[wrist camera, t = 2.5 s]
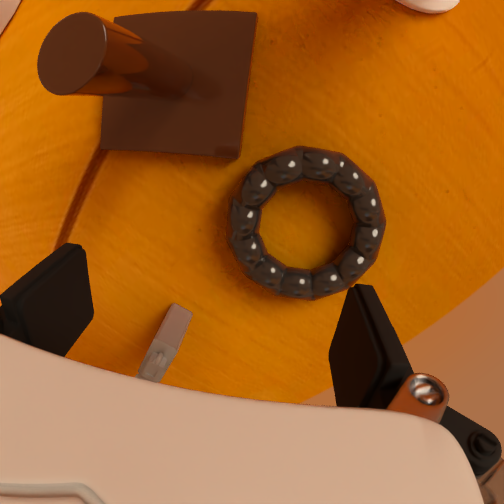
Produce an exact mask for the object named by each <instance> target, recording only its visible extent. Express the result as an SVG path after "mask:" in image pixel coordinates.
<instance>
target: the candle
mask: <svg viewBox="0 0 504 504" xmlns="http://www.w3.org/2000/svg"><path fill="white" fill-rule="evenodd" d="M396 1H398V2H399V3H401V4H403V5H405V6H407V7H409V8H411V9H414V10H417V11H420V12H425V13H442V12H446V11H448V10H450V9H452V8H454V7H455V6H456V5H457V4H458V3H459V1H460V0H396Z"/></svg>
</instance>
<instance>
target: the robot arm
mask: <svg viewBox="0 0 504 504" xmlns="http://www.w3.org/2000/svg"><path fill="white" fill-rule="evenodd" d="M0 299H1V303H2V306H1V307H0V504H504V460H503V459H502V458H501V452H502V450H501V444H500V442H499V440H498V439H497V437H496V436H495V435H494V434H493V433H492V432H490V431H489V430H487V429H486V428H484V427H482V426H480V425H479V424H477V423H475V422H474V421H472V420H470V419H468V418H467V417H465V416H463V415H462V414H460V413H458V412H457V411H455V410H453V409H452V408H450V407H448V406H447V404H448V401H449V393H448V390H447V388H446V386H445V385H444V384H443V383H442V382H441V381H440V380H439V379H437V378H436V377H434V376H432V375H429V374H425V373H415V374H414V372H413V370H412V367H411V365H410V363H409V361H408V358H407V356H406V354H405V352H404V349H403V347H402V345H401V343H400V341H399V338H398V336H397V334H396V332H395V330H394V328H393V326H392V324H391V322H390V320H389V318H388V316H387V314H386V312H385V310H384V308H383V306H382V304H381V302H380V300H379V298H378V296H377V294H376V292H375V290H374V288H373V286H372V285H364V284H355V286H354V287H350V288H349V289H348V292H347V295H346V299H345V302H344V305H343V308H342V312H341V315H340V318H339V321H338V324H337V328H336V331H335V334H334V337H333V340H332V343H331V346H330V349H329V363H330V368H331V374H332V380H333V386H334V391H335V397H336V404H337V406H325V405H308V404H295V403H283V402H273V401H264V400H255V399H248V398H240V397H233V396H226V395H220V394H213V393H207V392H202V391H196V390H191V389H185V388H180V387H175V386H170V385H165V384H161V383H156V382H152V381H148V380H143V379H139V378H135V377H131V376H127V375H123V374H119V373H115V372H112V371H108V370H105V369H101V368H98V367H94V366H91V365H87V364H84V363H81V362H78V361H75V360H71V359H68V358H65V355H66V354H67V352H68V351H69V350H70V348H71V347H72V346H73V344H74V343H75V342H76V340H77V339H78V338H79V336H80V335H81V334H82V332H83V331H84V330H85V328H86V327H87V326H88V324H89V323H90V322H91V320H92V319H93V315H94V309H93V303H92V296H91V290H90V283H89V275H88V267H87V259H86V252H85V250H84V249H83V248H82V246H81V245H78V244H72V243H65V244H64V245H62V246H61V247H60V248H58V249H57V250H56V251H54V252H53V253H52V254H50V255H49V256H48V257H46V258H45V259H44V260H43V261H41V262H40V263H39V264H37V265H36V266H35V267H34V268H32V269H31V270H30V271H29V272H27V273H26V274H25V275H24V276H22V277H21V278H20V279H19V280H18V281H16V282H15V283H14V284H13V285H12V286H10V287H9V288H8V289H7V290H6V291H5V292H3V293H2V294H1V295H0Z"/></svg>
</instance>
